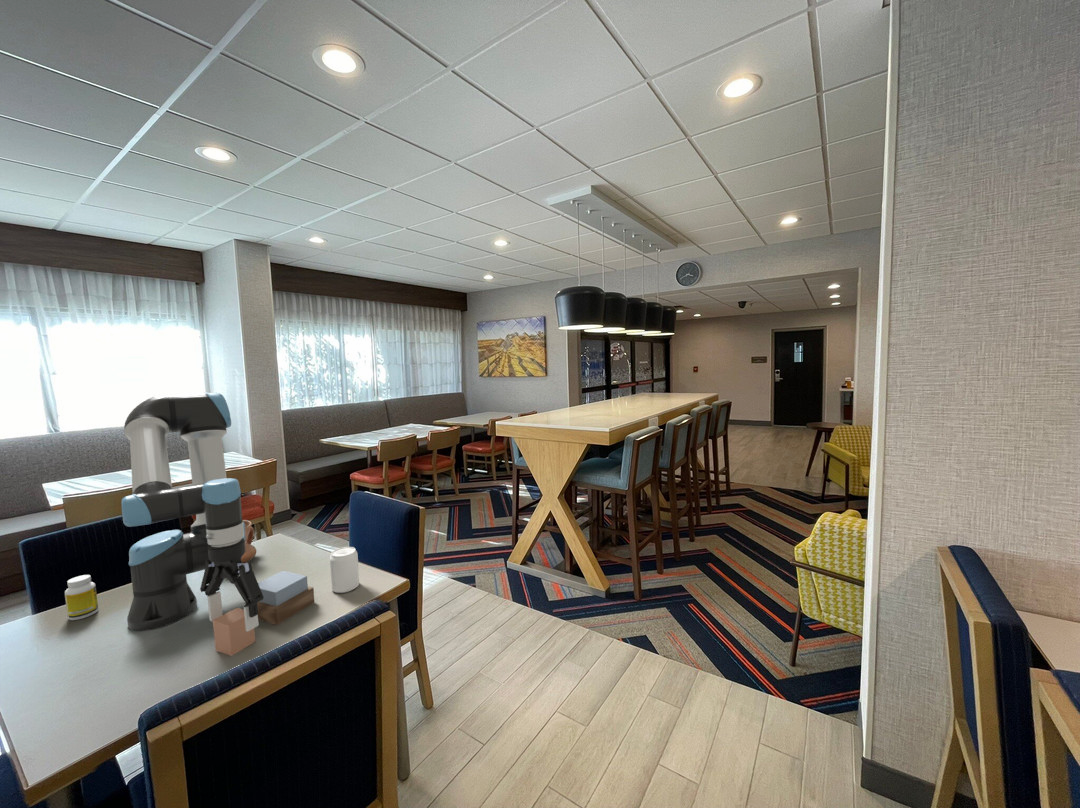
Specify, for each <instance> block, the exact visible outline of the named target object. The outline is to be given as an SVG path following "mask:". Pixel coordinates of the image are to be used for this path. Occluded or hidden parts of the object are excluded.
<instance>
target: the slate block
mask: <svg viewBox="0 0 1080 808" xmlns="http://www.w3.org/2000/svg"><path fill="white" fill-rule="evenodd" d="M258 585H259V587H260V589H261V592H262V594H263V597H264V599H263V600H261V601H259V602H263V603H266V604H270V605H274V606H278V605H280V604H282V603H283V602H285V601H287V600H289V599H291V598H292V597H294V596H296V595H298V594H299V593H301V592H303V591H305V590H307V589H308V587H309V586H308V585H309V584H308V575H303V574H300V573H296V572H291V571H288V570H287V571H286V570H282V571H279V572H277V573H275V574H273V575H271V576H268V577H267V578H265V579H263V580H261V581H258Z"/></svg>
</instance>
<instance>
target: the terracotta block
mask: <svg viewBox="0 0 1080 808" xmlns="http://www.w3.org/2000/svg"><path fill="white" fill-rule="evenodd" d="M212 625H213V634H214V635H213V636H214V645H215V646H214V647H215V651H216V652H219V653H222V654H225V655H228V656H230V657H231V656H234V655H236V654H238V652H241V651H242V650H244V649H245V648H247V647H248V646H250V645H252V644H253V643H255V642H256V634H255V628H253V629H252V630H250V631H246V627H245V616H244V608H241V607H235V608H234V609H232V610H230V611H228V612H226V613H223V615H222V616H220V617H218V618H216V619H214V620H213V621H212Z"/></svg>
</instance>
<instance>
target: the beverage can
mask: <svg viewBox="0 0 1080 808" xmlns="http://www.w3.org/2000/svg"><path fill="white" fill-rule="evenodd" d="M358 558H359V557H358V551H357V550H356V548H355V547H354V546H344V547H343V546H342V547H339V548H336V549H334V550H333V551H331V552H330V556H329V568H330V572H329V573H330V583H331V590H332V591H333V593H334V592H335V593H339V594H340V593H341V594H342V593H343V594H344V593H348V592H351V591H353V590H354V589H356V588H358V586H359V585H360V572H359V571H360V570H359V559H358Z"/></svg>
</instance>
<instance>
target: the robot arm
mask: <svg viewBox="0 0 1080 808" xmlns="http://www.w3.org/2000/svg"><path fill="white" fill-rule="evenodd" d="M231 419H232V418H231V413H230V409H229V406H228V403H227V400H226V399H225V396H224V395H223V394H221V393H218V392H196V393H195V392H193V393H180V394H179V393H177V394H159V395H156V396H152V397H150V398H148V399H146V400H144V401H142V402H140V403H139V404H138V405H136V406H135V407H134V408H133V409H132V410H131V411H130V412H129V414H128V416H127V417H126V419H125V422H124V430H123V431H124V436H125V438H126V439H127V440H128V441H129V446H130V450H129V451H130V465H131V467H130V468H131V485H132V486H131V488H132V494H130V495H127V496H126V495H125V496H124V497H122V498H121V501H120V502H121V504H120V505H121V512H122V513H121V514H122V521H123V524H124V526H126V527H129V528H130V527H138V526H145V525H151V524H154V523H156V524H157V523H159V522H164V521H165V522H166V521H170V520H174V519H179V518H185V517H191V516H196V517H195V518H196V519H195V521H194V522H193V523H192V524H191V525H190V532H187V533H184V532H182V530H180V529H172V530H165V531H161V532H157V533H154V534H152V535H148V536H146V537H144V538H142V539H139V541H137V542H136V543H134V544H132V545H131V546H130V548H129V551H128V556H129V557H128V558H129V559H128V560H129V561H128V566H129V567H130V574H131V575H130V578H131V586H132V596H133V597H132V601H131V605H130V607H129V611H128V615H127V620H126V621H127V627H128V629H130V630H131V631H137V632H138V631H150V630H155V629H159V628H161V627H162V628H163V627H166V626H168V625H172V624H174V623H177V622H178V621H181V620H182V619H185V618H186V617H188V616H189V615H191V614H192V613H193V612H195V610H196V609H197V607H198V601H197V597H196V595H195V593H194V591H193V590H192V589H191V587H190V585H189V583H188V580H187V575H188V574H193V573H196V572H201V571H204V572H203V576H202V580H201V585H200V589H199V590H200V592H201V593H204V594H205V596H206V597H207V605H208V616H209V621H210V622H213V620H214V619H216V618H218V617H220V616H222V615H224V613H223V604H222V594H221V591H220V590H221V588H220V587H221V586H222V584H223V582H224V580H227V581H229V582H230V584H232V585H234V587H235V588H236V590H237V592H238V593H239V594H240V596H241V598H242V600H243V601H244V603H245V604H244V605H243V609H244V616H245V627H246V631H250V630H252V629H253V628H254V629H255V628H257V627H258V626H260V625H259V624H260V623H259V620H258V607H257V602H259V601H261V600H263V599H264V597H263V594H262V592H261V589H260V587H259V585H258V583H259V581H258V580H257V578H256V576H255V573H254V571H253V566H252V565H253V564H252V562H251V561H248V562H246V563H242V560H241V557H242V556H243V554H244V553H245V551H246V550H245V525H244V522H243V520H244V519H243V512H242V510H243V509H242V498H241V497H242V496H241V494H242V491H241V487H240V482H239V480H238V479H237V478H232V477H227V469H226V462H225V454H224V446H223V437H224V436H225V435H226V434H227V430H228V428H230V427H231V426H232V420H231ZM169 433H180V438H181V439H182V440H183V441H185V442H187V449H188V456H189V466H190V474H191V483H192V485H188V486H182V487H181V486H180V487H175V488H173V485H172V477H171V471H170V470H171V468H170V461H169V453H168V445H167V444H168V443H167V437H168V435H169ZM249 599H250V600H249Z"/></svg>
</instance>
